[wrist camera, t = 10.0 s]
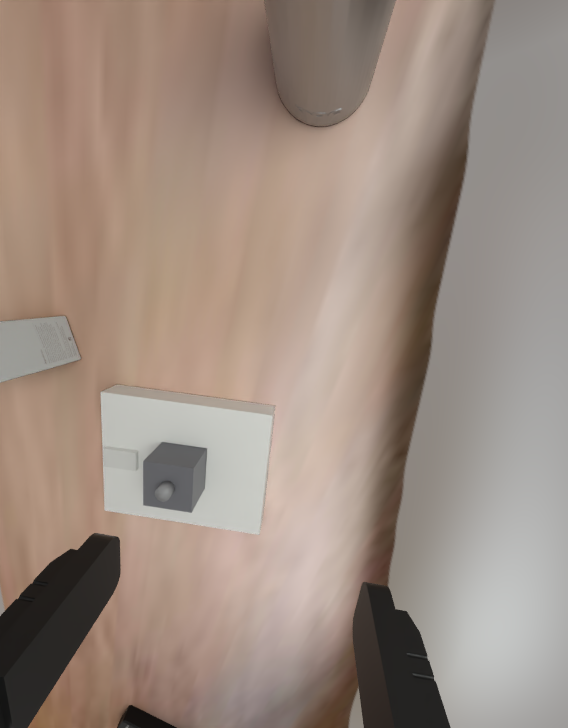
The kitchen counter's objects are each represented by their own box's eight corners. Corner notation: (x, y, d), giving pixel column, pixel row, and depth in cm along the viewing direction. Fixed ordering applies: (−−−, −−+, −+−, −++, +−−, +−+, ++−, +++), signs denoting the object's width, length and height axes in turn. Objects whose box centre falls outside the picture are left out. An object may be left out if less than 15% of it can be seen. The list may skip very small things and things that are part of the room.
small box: (67, 315, 35) (-31, 322, 25) (83, 359, 36) (-5, 384, 26) (9, 327, 36) (-108, 340, 26) (26, 371, 37) (-80, 399, 27)
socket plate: (117, 384, 37) (97, 393, 33) (275, 405, 36) (272, 417, 32) (119, 494, 40) (101, 513, 37) (263, 517, 39) (258, 538, 36)
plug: (173, 430, 38) (136, 467, 29) (214, 436, 37) (189, 475, 29) (172, 468, 39) (136, 513, 31) (212, 474, 39) (187, 521, 30)
